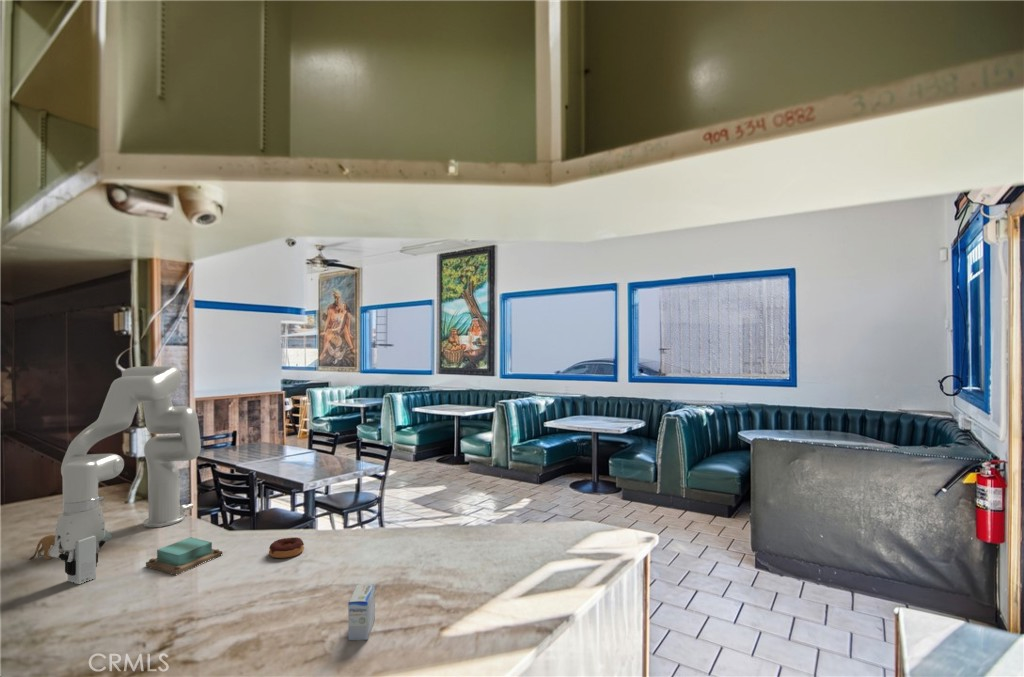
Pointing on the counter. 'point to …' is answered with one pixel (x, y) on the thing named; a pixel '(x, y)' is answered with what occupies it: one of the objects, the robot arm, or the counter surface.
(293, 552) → the donut
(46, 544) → the lion figurine
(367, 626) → the medicine box
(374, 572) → the counter surface
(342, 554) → the counter surface
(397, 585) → the counter surface
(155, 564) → the tower base
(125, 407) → the robot arm
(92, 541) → the skincare box
